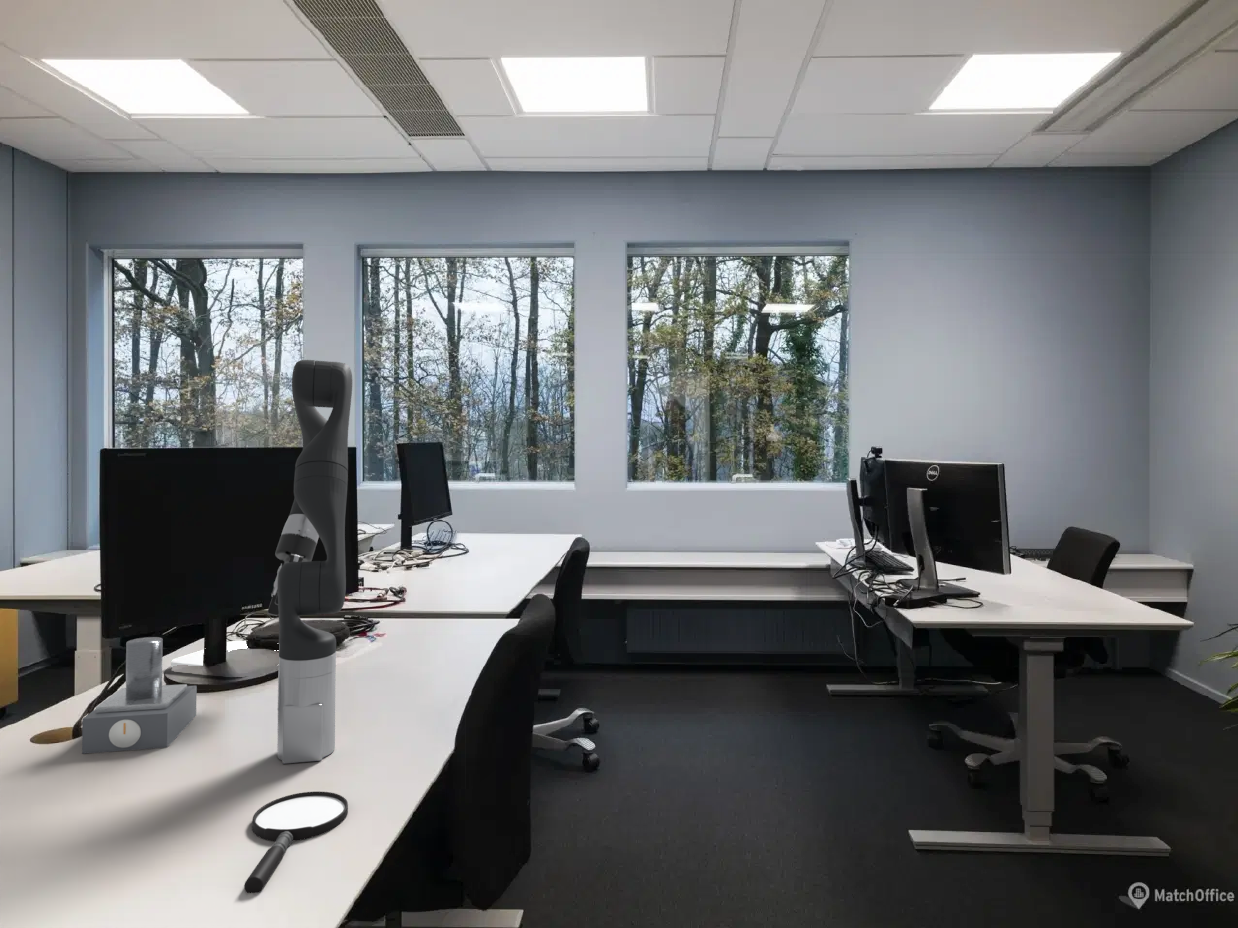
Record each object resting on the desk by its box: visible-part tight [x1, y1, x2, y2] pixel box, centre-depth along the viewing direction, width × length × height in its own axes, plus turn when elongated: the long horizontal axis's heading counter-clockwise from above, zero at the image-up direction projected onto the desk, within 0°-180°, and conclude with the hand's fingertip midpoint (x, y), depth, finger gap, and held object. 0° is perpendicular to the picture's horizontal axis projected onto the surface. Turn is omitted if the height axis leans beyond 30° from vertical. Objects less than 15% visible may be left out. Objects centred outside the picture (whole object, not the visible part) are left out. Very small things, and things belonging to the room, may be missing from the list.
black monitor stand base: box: [170, 640, 279, 668], centre depth 180 cm, size 22×22×3 cm
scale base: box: [81, 685, 198, 754], centre depth 133 cm, size 16×13×6 cm
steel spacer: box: [125, 636, 164, 700], centre depth 133 cm, size 6×6×10 cm
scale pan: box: [95, 683, 188, 713], centre depth 133 cm, size 11×11×1 cm
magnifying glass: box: [243, 791, 349, 894], centre depth 97 cm, size 12×24×2 cm, turn 7°
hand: (276, 609), depth 151 cm, fingers open, 8 cm apart
